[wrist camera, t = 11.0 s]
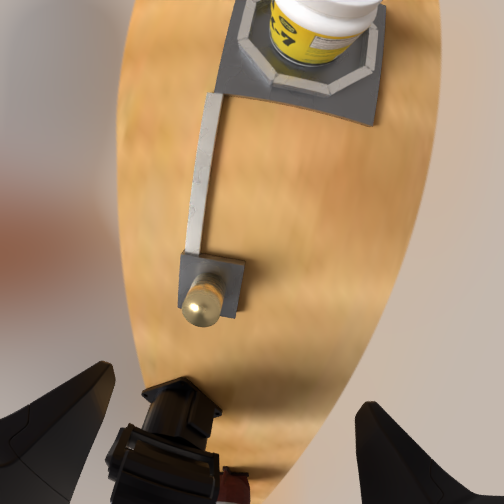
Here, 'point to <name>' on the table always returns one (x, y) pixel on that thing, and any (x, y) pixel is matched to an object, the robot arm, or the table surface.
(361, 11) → the supplement bottle
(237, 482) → the mate gourd
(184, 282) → the grey handled tray
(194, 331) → the table surface
